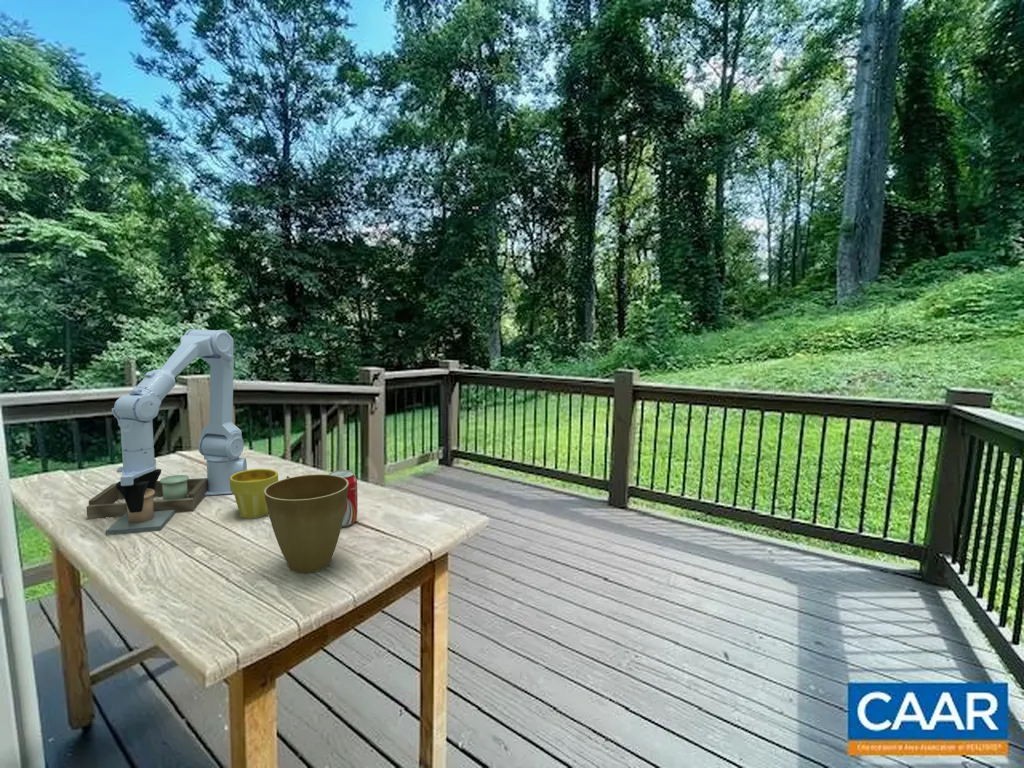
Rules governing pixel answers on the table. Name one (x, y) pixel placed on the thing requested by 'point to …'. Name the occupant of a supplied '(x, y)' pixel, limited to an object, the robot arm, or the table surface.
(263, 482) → the plant pot
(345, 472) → the soda can
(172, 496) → the green pot
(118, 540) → the table surface
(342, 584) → the table surface
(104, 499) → the frame
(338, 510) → the plant pot
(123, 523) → the slate slab
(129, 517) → the terracotta pot
